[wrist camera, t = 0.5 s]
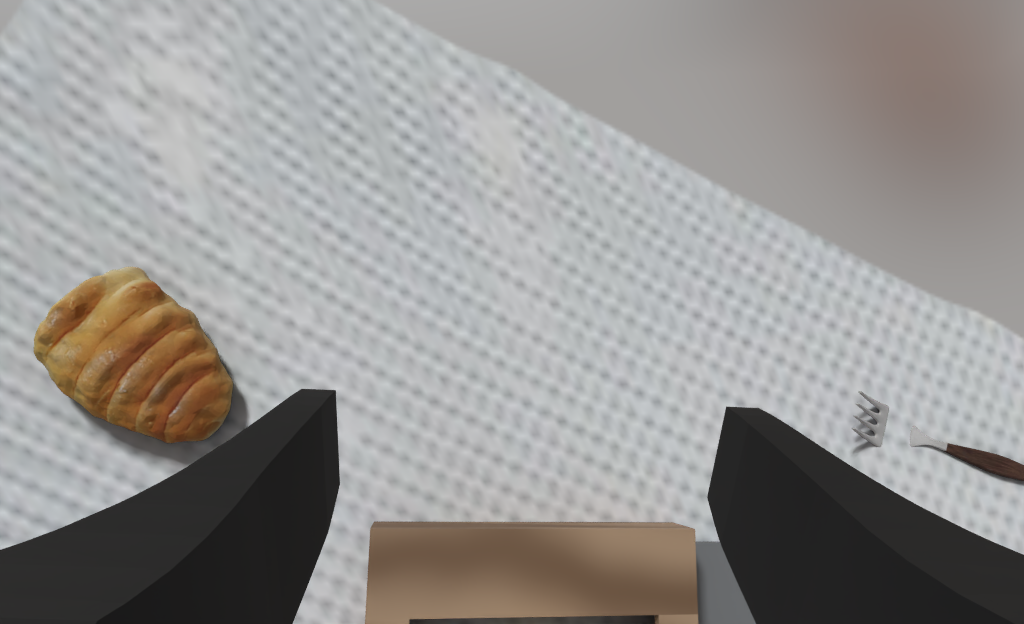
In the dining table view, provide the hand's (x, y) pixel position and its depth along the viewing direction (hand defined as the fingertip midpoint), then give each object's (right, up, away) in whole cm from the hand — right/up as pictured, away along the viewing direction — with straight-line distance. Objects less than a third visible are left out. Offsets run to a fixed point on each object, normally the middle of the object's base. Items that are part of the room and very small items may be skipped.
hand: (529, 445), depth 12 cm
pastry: (-19, 0, +23) cm, 30 cm away
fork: (+26, -6, +28) cm, 39 cm away
